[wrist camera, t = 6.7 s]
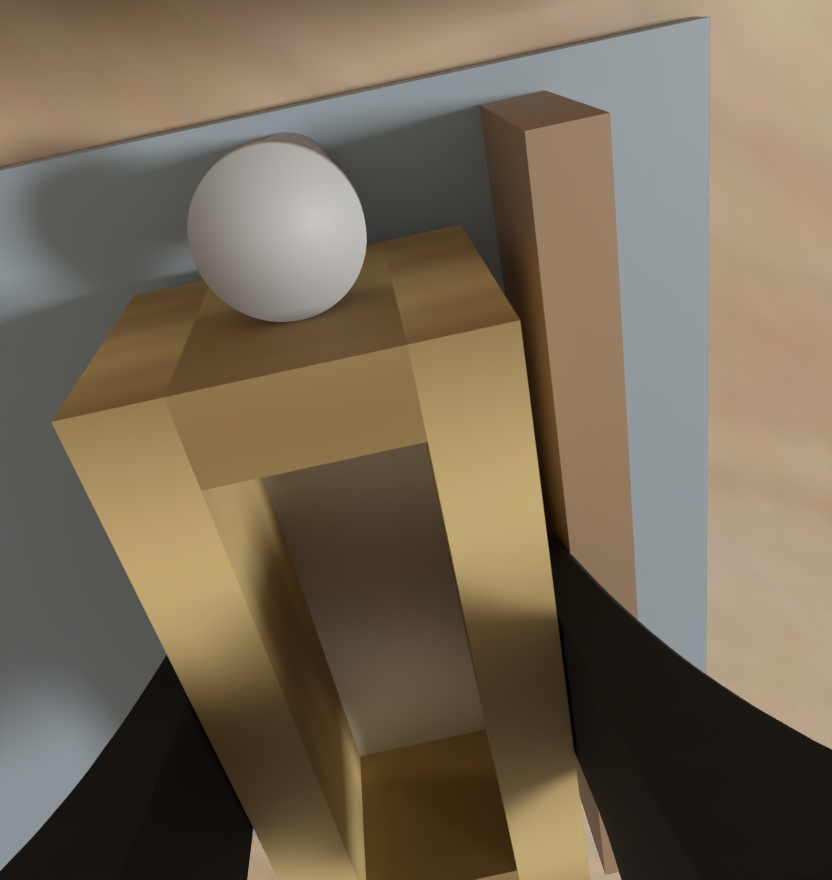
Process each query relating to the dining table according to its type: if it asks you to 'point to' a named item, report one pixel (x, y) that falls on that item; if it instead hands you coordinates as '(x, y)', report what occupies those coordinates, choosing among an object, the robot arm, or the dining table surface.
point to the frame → (349, 563)
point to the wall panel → (401, 195)
